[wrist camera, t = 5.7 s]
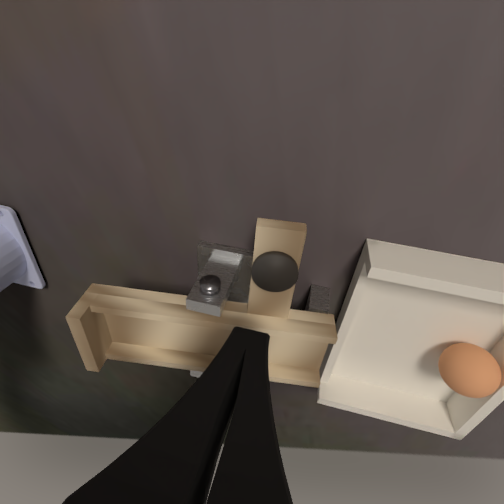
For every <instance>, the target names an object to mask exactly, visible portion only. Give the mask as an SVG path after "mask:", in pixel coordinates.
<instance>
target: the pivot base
mask: <svg viewBox="0 0 504 504" xmlns="http://www.w3.org/2000/svg"><path fill="white" fill-rule="evenodd" d="M197 250H198V279H197V281H196V282H195V284H194V286H193V287H192V289H191V291H190V293H189V294H188V296H187V298H186V309H188V310H192V311H196V312H200V313H205V314H209V315H213V316H218V317H220V316H221V314H222V311H223V309H224V306H225V304H226V302H227V301H232V302H240V303H248V301H249V291H250V282H251V270H252V263H253V253H254V251H250V250H245V249H240V248H235V247H230V246H225V245H220V244H215V243H210V242H205V241H200V242H199V244H198V245H197ZM305 311H309V312H317V313H325V314H328V312H329V288H325V287H320V286H316V285H311V288H310V292H309V296H308V300H307V304H306V307H305ZM202 373H203V372H200V371H193V370H190V375H191V376H194V377H197V378H199V377H200V376H201V375H202Z"/></svg>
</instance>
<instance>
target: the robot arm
mask: <svg viewBox="0 0 504 504" xmlns="http://www.w3.org/2000/svg"><path fill="white" fill-rule="evenodd" d="M12 283H17V284H21V285H26V286H30V287H34V288H38V289H42V288H43V287H45V285H46V284H45V281H44V279H43V277H42V274H41V272H40V269H39V267H38V265H37V262H36V260H35V257H34V255H33V253H32V250H31V248H30V246H29V243H28V241H27V238H26V236H25V234H24V231H23V229H22V226H21V224H20V222H19V219H18V217H17V215H16V212H15V211H14V210H13V209H12V208H10V207H8V206H3V205H0V292H1V291H2V290H4V289H5V288H6V287H8V286H9V285H10V284H12ZM269 340H270V336H269V334H268V333H263V332H259V331H255V330H250V329H246V328H242V327H237V326H236V327H234V328H233V330H232V332H231V334H230V335H229V337H228V339H227V340H226V342H225V343H224V345H223V346H222V348H221V349H220V351H219V352H218V354H217V355H216V356H215V358H214V359H213V360H212V362H211V363H210V364H209V366H208V367H207V368H206V370H205V371H204V372H203V373H202V375H201V376H200V377H199V378H198V379H197V381H196V382H195V383H194V384H193V385H192V386H191V388H190V389H189V390H188V391H187V392H186V393H185V395H184V396H183V397H182V398H181V399H180V400H179V401H178V402H177V403H176V404H175V405H174V406H173V407H172V408H171V409H170V410H169V412H168V413H167V414H166V415H165V416H164V417H163V418H162V419H160V420H159V421H158V422H157V423H156V424H155V425H154V426H153V427H152V428H151V429H150V430H149V431H148V432H147V433H146V434H145V435H144V436H142V437H141V438H140V439H139V440H138V441H137V442H136V443H135V444H133V445H132V446H131V447H130V448H129V449H128V450H126V451H125V452H124V453H123V454H122V455H120V456H119V457H118V458H117V459H116V460H115V461H114V462H112V463H111V464H110V465H109V466H107V467H106V468H105V469H104V470H102V471H101V472H100V473H98V474H97V475H96V476H95V477H93V478H92V479H91V480H89V481H88V482H87V483H86V484H84V485H83V486H81V487H80V488H79V489H78V490H76V491H75V492H74V493H72V494H71V495H70V496H69V497H67V498H66V500H65V501H64V502H63V503H62V504H293V502H292V498H291V495H290V491H289V487H288V483H287V479H286V475H285V472H284V467H283V463H282V458H281V454H280V450H279V444H278V439H277V434H276V429H275V423H274V417H273V410H272V403H271V395H270V384H269V371H268V349H269ZM233 412H234V413H233ZM232 414H233V416H232ZM231 417H232V420H231ZM230 420H231V423H230ZM229 423H230V427H229V430H228V434H227V437H226V440H225V444H224V447H223V451H222V454H221V457H220V461H219V464H218V467H217V470H216V474H215V477H214V480H213V483H212V487H211V490H210V493H209V489H210V485H211V482H212V477H213V474H214V470H215V466H216V462H217V459H218V456H219V452H220V449H221V446H222V443H223V440H224V437H225V435H226V432H227V429H228V426H229ZM208 493H209V496H208ZM207 497H208V500H207ZM206 501H207V503H206Z"/></svg>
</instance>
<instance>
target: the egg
mask: <svg viewBox="0 0 504 504" xmlns="http://www.w3.org/2000/svg"><path fill="white" fill-rule="evenodd" d="M438 367H439V372H440V375H441V377H442V379H443V380H444V382H445V383H446V384H447V385H448V386H449V387H450V388H451V389H452V390H454V391H455V392H457V393H458V394H461V395H463V396H466V397H470V398H483V397H486V396H489V395H491V394H492V393H494V392H495V391H496V390H497V389H498V387H499V385H500V383H501V370H500V367H499V364H498V362H497V361H496V359H495V358H494V357H493V356H492V355H491V354H490V353H489V352H488V351H486V350H485V349H483V348H481V347H479V346H477V345H474V344H470V343H457V344H453V345H451V346H449V347H447V348H446V349H445V350H444V351H443V352H442V353H441V355H440V358H439V362H438Z"/></svg>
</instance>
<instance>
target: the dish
mask: <svg viewBox="0 0 504 504" xmlns="http://www.w3.org/2000/svg"><path fill="white" fill-rule="evenodd" d="M336 331H337V338H338V339H337V342H336V344H330V343H329V344H328V347H327V350H326V352H325V355H324V358H323V361H322V364H321V366H320V369H319V373H320V386H319V388H318V396H317V403H320V404H324V405H328V406H331V407H335V408H339V409H343V410H347V411H351V412H355V413H358V414H362V415H366V416H370V417H374V418H378V419H381V420H385V421H389V422H393V423H397V424H401V425H405V426H408V427H412V428H416V429H420V430H424V431H428V432H432V433H435V434H439V435H443V436H447V437H451V438H455V439H458V440H462V439H463V438H464V437H465V436H466V435H467V434H468V433H469V432H470V431H471V430H472V429H473V428H475V427H476V426H477V425H478V424H479V423H480V422H481V421H482V420H483V419H484V418H485V417H486V416H487V415H488V414H490V413H491V412H492V411H493V410H494V409H495V408H496V407H497V406H498V405H499V404H500V403H501V402H502V401H504V264H503V263H498V262H492V261H487V260H481V259H476V258H470V257H465V256H459V255H454V254H449V253H443V252H438V251H432V250H427V249H421V248H416V247H411V246H405V245H400V244H394V243H389V242H383V241H378V240H372V239H366V242H365V244H364V247H363V250H362V253H361V255H360V258H359V261H358V264H357V267H356V269H355V272H354V275H353V278H352V280H351V283H350V286H349V289H348V291H347V294H346V297H345V300H344V303H343V305H342V308H341V311H340V314H339V316H338V319H337V322H336ZM457 343H470V344H474V345H477V346H479V347H481V348H483V349H485V350H486V351H488V352H489V353H490V354H491V355H492V356H493V357H494V358H495V359H496V361H497V362H498V364H499V367H500V370H501V383H500V385H499V387H498V389H497V390H496V391H495V392H494V393H492V394H491V395H489V396H486V397H483V398H470V397H466V396H463V395H461V394H458V393H457V392H455V391H454V390H452V389H451V388H450V387H449V386H448V385H447V384H446V383H445V382H444V380H443V379H442V377H441V375H440V372H439V367H438V362H439V358H440V355H441V353H442V352H443V351H444V350H445V349H446V348H447V347H449V346H451V345H453V344H457Z"/></svg>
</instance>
